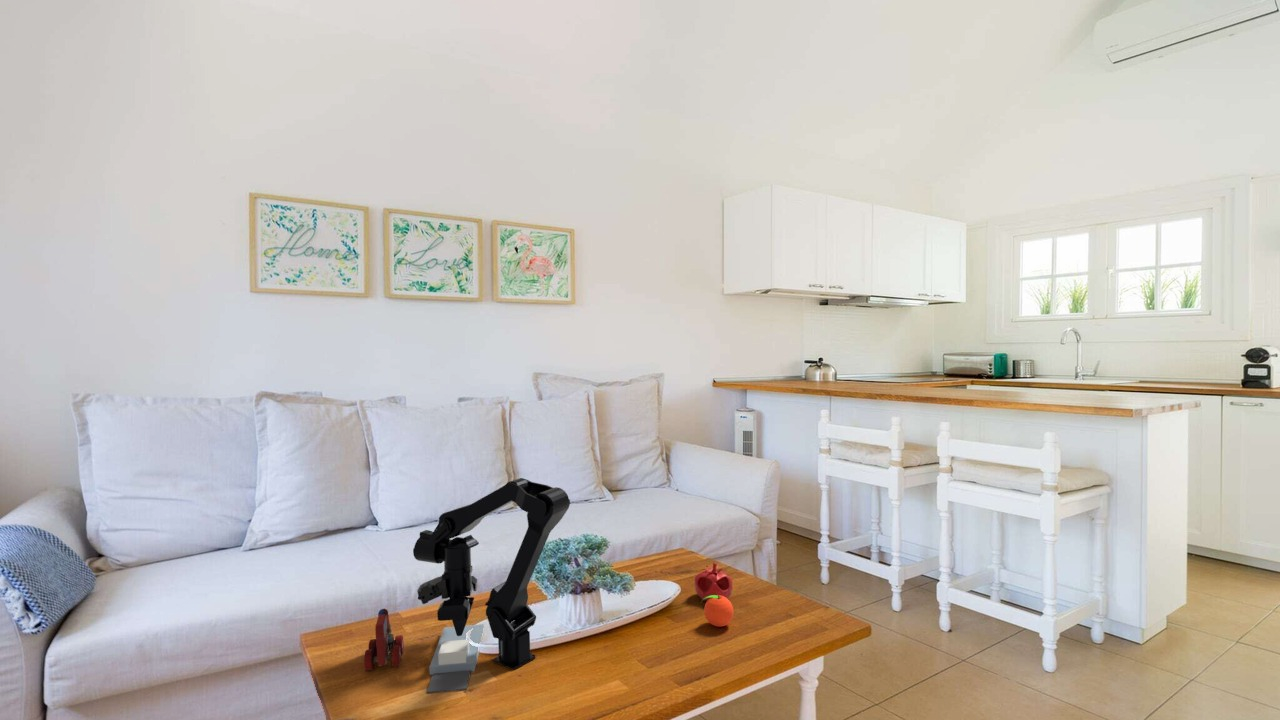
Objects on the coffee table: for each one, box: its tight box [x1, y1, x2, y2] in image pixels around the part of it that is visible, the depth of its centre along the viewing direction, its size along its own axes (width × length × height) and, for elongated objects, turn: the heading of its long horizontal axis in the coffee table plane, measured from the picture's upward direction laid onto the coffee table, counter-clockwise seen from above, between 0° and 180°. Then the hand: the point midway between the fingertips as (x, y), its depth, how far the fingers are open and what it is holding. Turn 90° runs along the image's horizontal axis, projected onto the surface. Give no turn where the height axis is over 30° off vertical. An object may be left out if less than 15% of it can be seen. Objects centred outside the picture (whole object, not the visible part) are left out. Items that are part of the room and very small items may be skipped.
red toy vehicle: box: [363, 608, 405, 671], centre depth 136 cm, size 7×12×10 cm, turn 15°
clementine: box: [701, 595, 735, 628], centre depth 150 cm, size 8×7×7 cm
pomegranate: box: [693, 562, 734, 602], centre depth 167 cm, size 10×10×9 cm
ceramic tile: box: [438, 639, 469, 665], centre depth 133 cm, size 6×6×2 cm
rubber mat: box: [426, 670, 472, 694], centre depth 127 cm, size 7×8×1 cm
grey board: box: [428, 623, 485, 676], centre depth 140 cm, size 19×9×2 cm, turn 8°
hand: (459, 635), depth 141 cm, fingers closed
